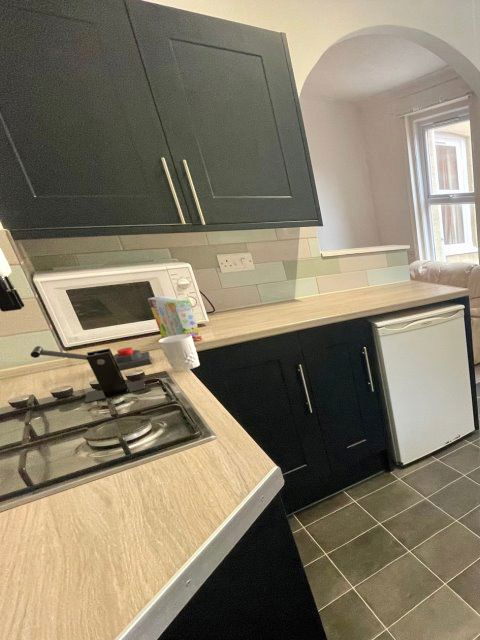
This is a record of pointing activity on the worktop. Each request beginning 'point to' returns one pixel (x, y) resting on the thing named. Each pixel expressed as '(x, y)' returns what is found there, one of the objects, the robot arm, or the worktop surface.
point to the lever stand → (109, 377)
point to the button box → (133, 360)
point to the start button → (125, 351)
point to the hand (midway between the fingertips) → (13, 308)
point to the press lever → (56, 354)
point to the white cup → (180, 352)
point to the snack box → (174, 316)
